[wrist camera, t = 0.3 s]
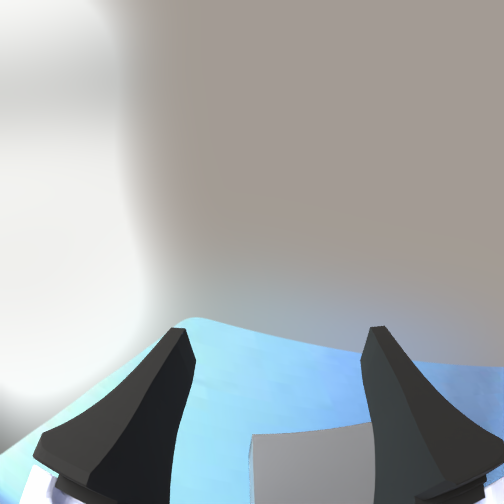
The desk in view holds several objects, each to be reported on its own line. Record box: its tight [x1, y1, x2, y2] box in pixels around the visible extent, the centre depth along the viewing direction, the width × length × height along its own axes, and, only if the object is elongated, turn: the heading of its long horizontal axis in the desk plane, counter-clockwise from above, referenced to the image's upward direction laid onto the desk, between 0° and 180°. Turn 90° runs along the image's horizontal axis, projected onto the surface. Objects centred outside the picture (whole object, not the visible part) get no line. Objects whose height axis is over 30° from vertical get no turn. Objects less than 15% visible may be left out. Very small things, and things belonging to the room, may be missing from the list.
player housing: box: [249, 422, 375, 504], centre depth 15 cm, size 13×11×7 cm
